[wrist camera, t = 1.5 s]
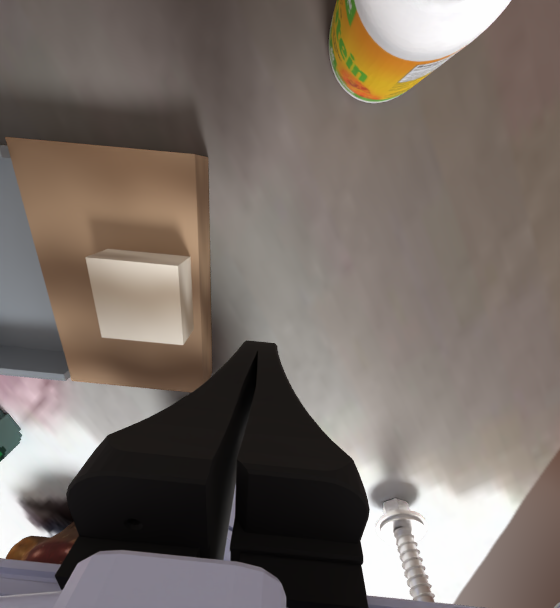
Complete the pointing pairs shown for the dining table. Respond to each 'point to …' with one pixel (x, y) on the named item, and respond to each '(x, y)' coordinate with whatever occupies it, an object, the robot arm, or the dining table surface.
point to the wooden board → (120, 236)
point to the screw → (406, 543)
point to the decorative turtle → (45, 547)
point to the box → (24, 293)
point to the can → (8, 435)
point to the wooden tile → (142, 295)
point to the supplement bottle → (401, 41)
